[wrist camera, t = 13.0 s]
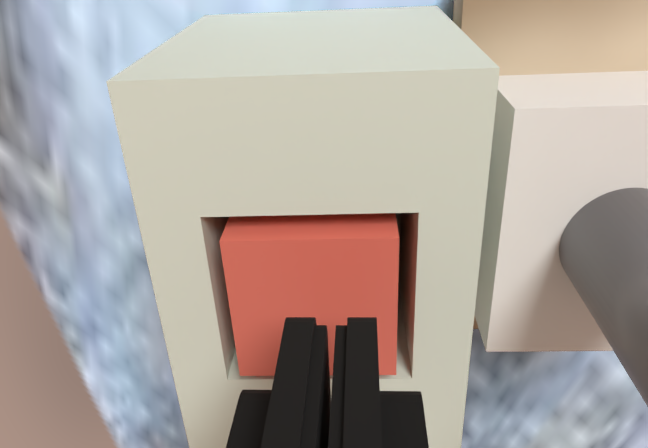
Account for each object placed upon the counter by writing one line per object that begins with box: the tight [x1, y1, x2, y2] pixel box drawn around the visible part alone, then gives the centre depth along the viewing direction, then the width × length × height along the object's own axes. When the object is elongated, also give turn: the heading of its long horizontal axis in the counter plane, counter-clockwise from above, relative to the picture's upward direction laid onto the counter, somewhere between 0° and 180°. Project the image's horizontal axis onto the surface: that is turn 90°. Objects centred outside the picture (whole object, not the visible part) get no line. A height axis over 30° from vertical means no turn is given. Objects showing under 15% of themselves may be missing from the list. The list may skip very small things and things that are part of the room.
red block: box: [219, 213, 399, 376], centre depth 14 cm, size 4×4×4 cm
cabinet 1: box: [106, 6, 500, 448], centre depth 16 cm, size 10×7×8 cm
